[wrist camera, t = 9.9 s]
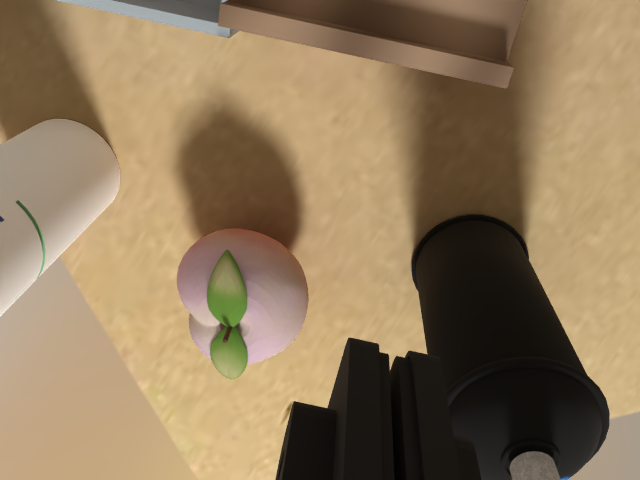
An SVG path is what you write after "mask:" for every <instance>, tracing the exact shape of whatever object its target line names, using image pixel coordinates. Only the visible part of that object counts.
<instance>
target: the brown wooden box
mask: <svg viewBox="0 0 640 480" xmlns="http://www.w3.org/2000/svg"><path fill="white" fill-rule="evenodd" d="M527 1H528V0H227V1H225V2H223V3H220V10H219V20H218V26H220V27H225V28H230V29H234V30H239V31H243V32H248V33H253V34H257V35H262V36H266V37H271V38H276V39H280V40H285V41H289V42H294V43H298V44H303V45H308V46H312V47H317V48H321V49H326V50H331V51H335V52H340V53H344V54H349V55H354V56H358V57H363V58H367V59H372V60H376V61H381V62H386V63H390V64H395V65H399V66H404V67H409V68H413V69H418V70H422V71H427V72H432V73H436V74H441V75H445V76H450V77H454V78H459V79H464V80H468V81H473V82H477V83H482V84H487V85H491V86H496V87H500V88H505V89H507V87H508V84H509V81H510V78H511V76H512V73H513V70H514V67H513V66H511V65H510V64H509V63H508V62H507V60H508V57H509V54H510V51H511V48H512V45H513V42H514V39H515V36H516V33H517V30H518V27H519V24H520V21H521V18H522V15H523V12H524V10H525V7H526V4H527Z"/></svg>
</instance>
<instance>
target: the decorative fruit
mask: <svg viewBox="0 0 640 480" xmlns="http://www.w3.org/2000/svg"><path fill="white" fill-rule="evenodd" d="M177 287H178V291H179V295H180V298H181V300H182V302H183V304H184V306H185V308H186V309H187V310H188V311H189V312H190V315H189V329H190V333H191V337H192V339H193V341H194V343H195V344H196V346H197V347H198V348H199V349H200V350H201V351H202V353H204V354H205V355H206V356H207V357H209V358H211V360H212V362H213V364H214V366H215V367H216V369H217V370H218V371H219V372H220V373H221V374H222V375H223V376H225V377H226V378H229V379H235V378H237V377H239V376H240V375H241V374H242V373H243V372H244V370H245V368H246V366H247V365H248V364H253V363H257V362H259V361H262V360H265V359H267V358H269V357H271V356H274V355H276V354H278V353H280V352H281V351H283V350H284V349H286V348H287V347H288V346H289V345H290V344H291V343H292V342H293V341H294V340H295V338H296V337H297V335H298V334H299V332H300V330H301V328H302V326H303V323H304V320H305V317H306V313H307V308H308V287H307V282H306V278H305V275H304V272H303V270H302V267H301V266H300V264H299V262H298V260H297V259H296V258H295V257H294V255H293V254H292V253H291V252H290V251H289V250H288V249H287V248H286V247H285V246H283V245H282V244H281V243H279V242H278V241H276V240H275V239H273V238H271V237H269V236H267V235H264V234H262V233H259V232H256V231H252V230H246V229H239V228H230V229H223V230H218V231H215V232H212V233H210V234H208V235H206V236H204V237H203V238H201V239H200V240H198V241H197V242H196V243H195V244H194V245H192V246H191V247H190V248H189V250H188V251H187V252H186V254H185V255H184V256H183V258H182V261H181V263H180V265H179V268H178V274H177Z"/></svg>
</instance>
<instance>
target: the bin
mask: <svg viewBox="0 0 640 480" xmlns="http://www.w3.org/2000/svg"><path fill="white" fill-rule="evenodd" d="M57 1H61V2H66V3H70V4H75V5H80V6H84V7H89V8H93V9H98V10H103V11H107V12H112V13H116V14H121V15H126V16H130V17H135V18H139V19H144V20H149V21H153V22H158V23H162V24H167V25H172V26H176V27H181V28H185V29H190V30H195V31H199V32H204V33H208V34H213V35H218V36H222V37H227V38H230V37H231V36H233V35H234V34H235V33H237V32H238V31H239V30H234V29H230V28H225V27H220V26H218V20H219V10H220V3H223V2H225V1H227V0H57Z"/></svg>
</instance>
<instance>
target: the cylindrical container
mask: <svg viewBox="0 0 640 480" xmlns="http://www.w3.org/2000/svg"><path fill="white" fill-rule="evenodd" d="M120 177H121V176H120V169H119V165H118V162H117V159H116V156H115V154H114V153H113V151H112V149H111V147H110V146H109V145H108V144H107V142H106V141H105V140H104V139H103V138H102V137H101V136H100V135H99V134H98V133H96V132H95V131H94V130H92V129H91V128H89V127H87V126H85V125H83V124H81V123H79V122H76V121H72V120H68V119H51V120H45V121H43V122H41V123H38V124H36V125H34V126H33V127H31V128H29V129H27V130H25V131H24V132H22V133H20V134H18V135H16V136H15V137H13V138H11V139H9V140H7V141H6V142H4V143H2V144H0V316H1V315H2V314H3V313H4V312H5V311H6V310H7V309H8V308H9V307H10V306H11V305H12V304H13V303H14V302H15V301H16V300H17V299H18V298H19V297H20V296H21V295H22V294H23V293H24V292H25V291H26V290H27V289H28V288H29V287H30V285H31V284H33V283H34V281H35V280H36V279H37V278H38V277H39V276H40V275H41V274H42V273H43V272H44V271H45V270H46V269H47V268H48V267H49V266H50V265H51V264H52V263H53V262H54V261H55V260H56V259H57V258H58V257H59V256H60V255H61V254H62V253H63V252H64V251H65V250H66V249H67V248H68V247H69V246H70V245H71V244H72V243H73V242H74V241H75V240H76V239H77V237H78V236H79V235H80V234H81V233H82V232H83V231H84V230H85V229H86V228H87V227H88V226H89V225H90V224H91V223H92V222H93V221H94V220H95V219H96V218H97V217H98V216H99V215H100V214H101V213H102V212H103V211H104V210H105V209H106V208H107V207H108V206H109V205H110V204H111V203H112V201H113V200H114V199H115V197H116V195H117V193H118V190H119V187H120Z"/></svg>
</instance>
